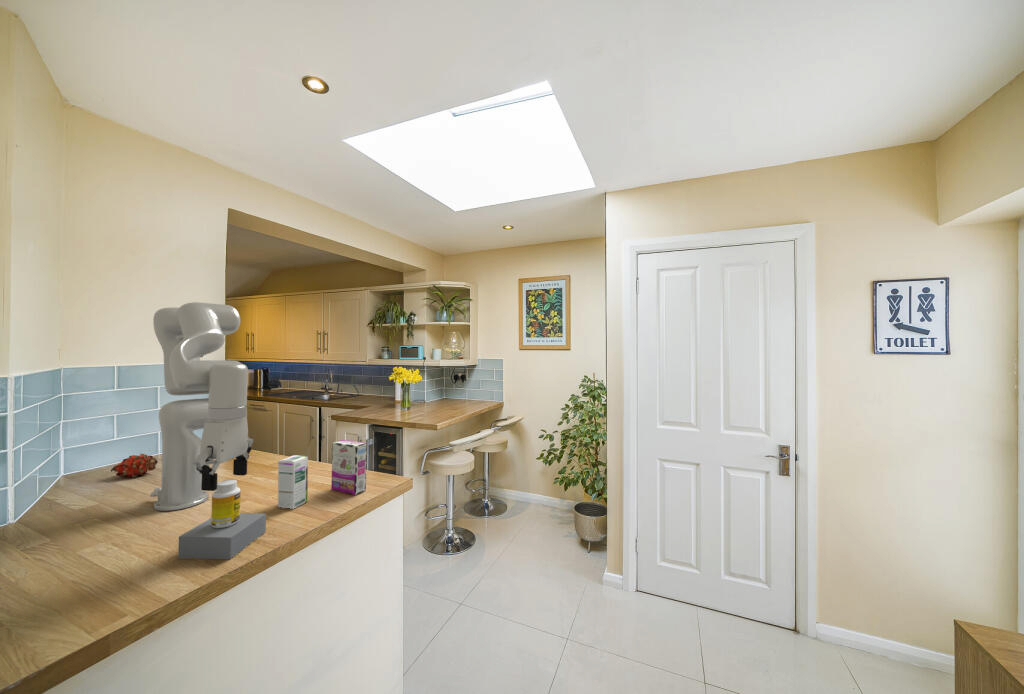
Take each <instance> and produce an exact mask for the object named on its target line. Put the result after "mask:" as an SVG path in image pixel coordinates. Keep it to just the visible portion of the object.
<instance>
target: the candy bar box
mask: <svg viewBox="0 0 1024 694" xmlns="http://www.w3.org/2000/svg"><path fill="white" fill-rule="evenodd" d="M367 446H368V443H367V442H362V441H361V442H360V441H355V440H346V439H342V440H337V441H334V442H332V446H331V447H332V448H331V449H332V450H331V451H332V452H331V457H332V458H331V486H330V487H331V491H333V490H335V491H334V492H338V491H339V493H342V492H343V494H348V495H351V496H352V495H353V496H357V495H359V494H362V493H365V491H367V490H366V489H367V453H368V452H367V450H368V448H367Z"/></svg>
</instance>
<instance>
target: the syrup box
mask: <svg viewBox="0 0 1024 694" xmlns="http://www.w3.org/2000/svg"><path fill="white" fill-rule="evenodd" d="M277 465H278V467H277V470H278V471H277V473H278V474H277V482H278V483H277V507H278V508H280V507H281V508H280V509H285V508H290V509H289V510H295V509H296V508H298V507H300V506H302V505H303V504H305V502H306V503H307V502H308V498H309V497H308V495H309V493H308V490H309V489H308V488H309V487H308V479H309V476H308V475H309V472H308V471H309V466H308V465H309V457H308V456H306V455H301V454H299V455H296V454H295V455H291V456H289V457H286V458H283V459H280V460H278V462H277ZM294 508H295V509H294Z"/></svg>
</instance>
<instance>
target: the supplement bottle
mask: <svg viewBox="0 0 1024 694" xmlns="http://www.w3.org/2000/svg"><path fill="white" fill-rule="evenodd" d="M240 513H241V488H240V487H238V481H237V480H236V479H226V480H221V481H219V482H217V490H215V491H213V493H212V494H211V518H212V519H211V525H212V527H214V528H225V527H229V526H232V525H234V524H236V523H237V522H238V521H239V519H240Z"/></svg>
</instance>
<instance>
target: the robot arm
mask: <svg viewBox="0 0 1024 694" xmlns="http://www.w3.org/2000/svg"><path fill="white" fill-rule="evenodd" d="M152 320H153V322H152V323H153V330H154V334H155V336H156V338H157V341H158V343H159V345H160V347H161V349H162V352H163V375H164V376H163V378H164V379H163V380H164V389H165V391H166V392H167V394H169V395H171V396H178V397H180V396H181V397H182V396H197V395H208V397H205V398H191V399H180V400H173V401H170V402H167V403H165V404H164V405H162V406H161V407H160V409H159V410H158V411H159V412H158V420H159V426H160V427H159V428H160V432H161V441H162V444H161V487H155V488H154V490H153V491H152V492H150V494H149V496H150V497H152V498H153V497H154V498H155V497H157V501H155V502H154V503H153V509H155V510H156V511H160V512H169V511H177V510H183V509H187V508H190V507H191V508H192V507H193V506H197V505H199V504H202V503H203V502H205V501H207V500H208V499H209V497H210V495H209V492H215V491H216V490H217V483H218V473H217V470H218V468H219V466H220V464H223V463H226V462H229V461H230V460H233V462H232V463H233V465H232V467H233V468H232V469H233V471H232V475H233V476H247V474H248V460H249V458H250V453H251V452H252V446H253V443H254V438H250V437H249V427H248V426H249V425H248V418H247V412H248V411H247V406H248V404H247V403H248V379H249V378H248V377H249V376H248V375H249V374H248V373H249V369H248V366H247V365H246V364H244V363H242V362H240V361H238V360H232V359H231V360H227V359H226V360H219V359H218V360H214V359H213V360H211V359H210V360H205V359H204V360H203V359H202V360H201V357H202V356H206V355H209V354H212V353H215V352H217V351H218V350H220V349H221V348H222V347H223V345H224V343H225V341H226V339H225V336H228V335H232V334H234V333H235V332H237V331H238V330H239V328H240V325H241V316H240V313H239V311H238V310H237V309H236V308H235V307H234V306H232V305H230V304H229V305H228V304H221V303H210V302H197V301H196V302H193V301H192V302H186V303H184V304H182V305H181V306H179V307H176V306H174V307H164V308H160V309H158V310H157V311H156V312H154V314H153V319H152ZM201 429H202V435H201V437H199V436H198V435H197V434H195V433H194V431H195V430H197V431H198V430H201ZM210 465H211V467H210Z"/></svg>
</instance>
